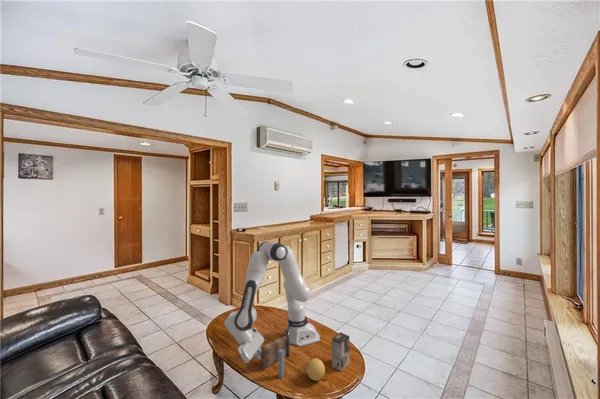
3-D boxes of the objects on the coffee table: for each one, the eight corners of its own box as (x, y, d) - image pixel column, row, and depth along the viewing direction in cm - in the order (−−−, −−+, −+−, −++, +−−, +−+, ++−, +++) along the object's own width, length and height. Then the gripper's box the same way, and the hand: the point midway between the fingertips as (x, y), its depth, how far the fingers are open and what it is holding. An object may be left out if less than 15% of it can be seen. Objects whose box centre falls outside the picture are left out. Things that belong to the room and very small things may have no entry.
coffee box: (339, 358, 160) (340, 331, 159) (349, 363, 156) (349, 335, 155) (331, 366, 153) (331, 338, 152) (341, 371, 149) (341, 342, 148)
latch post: (280, 374, 147) (280, 349, 146) (283, 375, 146) (283, 349, 146) (278, 377, 144) (278, 351, 144) (282, 378, 144) (282, 352, 143)
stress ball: (326, 382, 142) (326, 361, 149) (322, 377, 135) (322, 355, 143) (308, 383, 144) (308, 361, 151) (303, 377, 138) (304, 355, 145)
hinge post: (285, 353, 165) (285, 328, 164) (290, 354, 164) (290, 328, 163) (284, 356, 162) (283, 330, 161) (289, 357, 161) (289, 331, 160)
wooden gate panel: (284, 354, 162) (284, 335, 162) (286, 356, 161) (286, 337, 160) (261, 367, 151) (261, 347, 150) (263, 369, 149) (263, 349, 149)
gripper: (240, 345, 145) (257, 366, 142) (256, 326, 164) (272, 344, 162) (232, 352, 146) (249, 373, 144) (250, 332, 166) (265, 350, 164)
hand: (261, 357), depth 153 cm, fingers closed
